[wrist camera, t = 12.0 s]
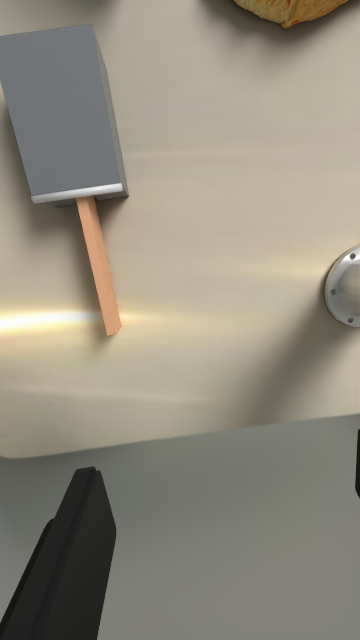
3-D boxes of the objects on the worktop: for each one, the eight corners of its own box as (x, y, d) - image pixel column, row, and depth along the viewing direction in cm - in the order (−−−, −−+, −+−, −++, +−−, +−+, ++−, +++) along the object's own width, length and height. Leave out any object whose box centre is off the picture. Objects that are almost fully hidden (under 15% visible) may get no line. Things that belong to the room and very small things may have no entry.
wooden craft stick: (92, 186, 31) (81, 176, 27) (121, 326, 35) (116, 334, 31) (82, 187, 31) (71, 177, 27) (113, 327, 35) (107, 335, 31)
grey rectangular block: (106, 69, 28) (91, 21, 23) (130, 202, 32) (122, 189, 26) (23, 80, 28) (-13, 35, 23) (56, 213, 32) (32, 202, 26)
